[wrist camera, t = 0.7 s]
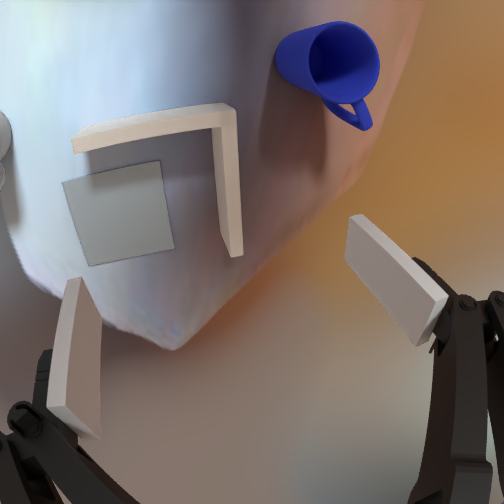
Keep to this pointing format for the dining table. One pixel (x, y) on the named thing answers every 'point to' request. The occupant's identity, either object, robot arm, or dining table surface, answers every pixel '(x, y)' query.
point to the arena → (183, 120)
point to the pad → (120, 213)
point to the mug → (332, 67)
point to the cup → (4, 144)
